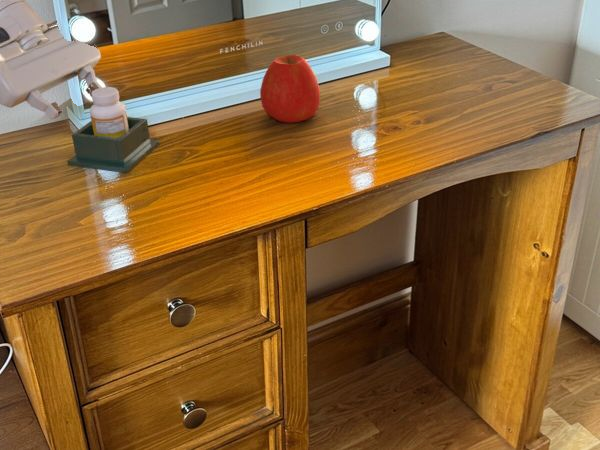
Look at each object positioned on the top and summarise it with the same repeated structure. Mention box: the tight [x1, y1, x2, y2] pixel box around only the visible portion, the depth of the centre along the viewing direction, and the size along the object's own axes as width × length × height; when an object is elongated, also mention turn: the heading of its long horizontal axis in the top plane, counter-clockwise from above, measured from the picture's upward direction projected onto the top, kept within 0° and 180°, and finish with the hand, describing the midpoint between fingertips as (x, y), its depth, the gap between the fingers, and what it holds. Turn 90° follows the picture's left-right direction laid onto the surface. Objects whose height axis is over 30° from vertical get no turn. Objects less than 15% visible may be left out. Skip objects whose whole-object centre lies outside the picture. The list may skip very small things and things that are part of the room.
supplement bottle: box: [89, 86, 129, 138], centre depth 118 cm, size 5×5×10 cm
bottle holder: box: [66, 116, 160, 174], centre depth 120 cm, size 10×10×5 cm
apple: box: [259, 54, 321, 124], centre depth 130 cm, size 10×10×10 cm
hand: (78, 104), depth 119 cm, fingers open, 8 cm apart
